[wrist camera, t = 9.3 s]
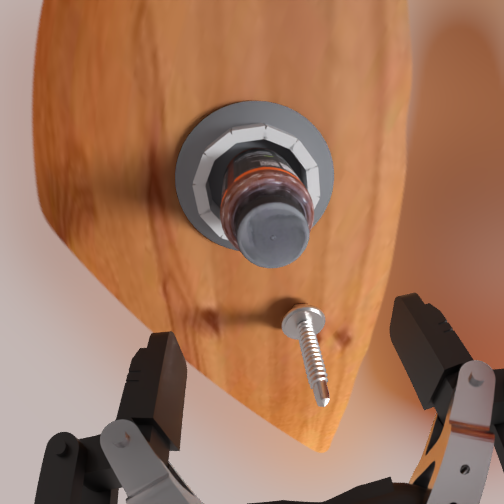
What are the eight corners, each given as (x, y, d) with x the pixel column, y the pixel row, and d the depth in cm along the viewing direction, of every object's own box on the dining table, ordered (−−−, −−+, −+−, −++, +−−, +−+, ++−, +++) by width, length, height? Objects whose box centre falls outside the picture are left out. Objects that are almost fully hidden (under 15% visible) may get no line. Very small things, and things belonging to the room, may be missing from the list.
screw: (309, 287, 34) (327, 314, 36) (271, 308, 35) (292, 333, 37) (340, 383, 22) (358, 405, 24) (286, 406, 23) (311, 425, 25)
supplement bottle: (241, 221, 29) (245, 298, 19) (211, 164, 26) (195, 215, 16) (302, 194, 28) (339, 259, 18) (275, 134, 25) (303, 165, 15)
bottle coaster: (162, 117, 24) (152, 120, 21) (324, 93, 24) (336, 94, 21) (195, 257, 31) (191, 276, 28) (334, 236, 31) (344, 253, 28)
